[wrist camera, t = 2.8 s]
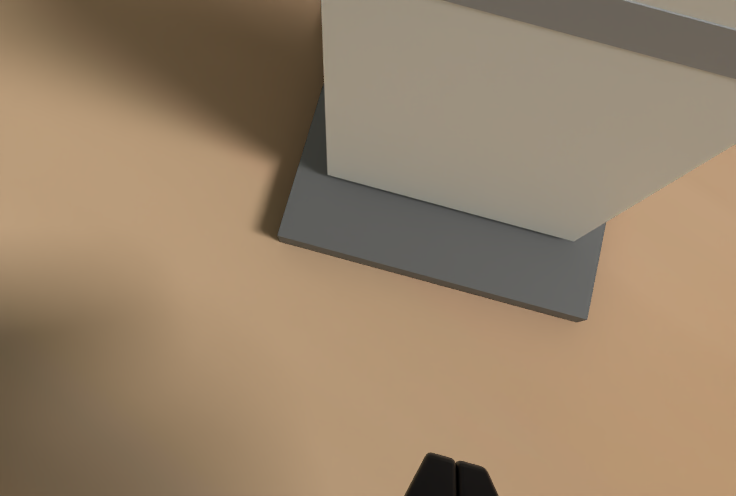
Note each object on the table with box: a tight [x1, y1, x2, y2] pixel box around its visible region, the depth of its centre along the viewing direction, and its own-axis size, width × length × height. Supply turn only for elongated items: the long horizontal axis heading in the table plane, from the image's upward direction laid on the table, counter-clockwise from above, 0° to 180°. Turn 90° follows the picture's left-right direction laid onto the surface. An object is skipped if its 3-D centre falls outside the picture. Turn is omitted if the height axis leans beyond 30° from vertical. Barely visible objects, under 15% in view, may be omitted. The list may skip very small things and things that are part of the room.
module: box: [321, 0, 736, 241], centre depth 12 cm, size 4×7×14 cm, turn 75°
